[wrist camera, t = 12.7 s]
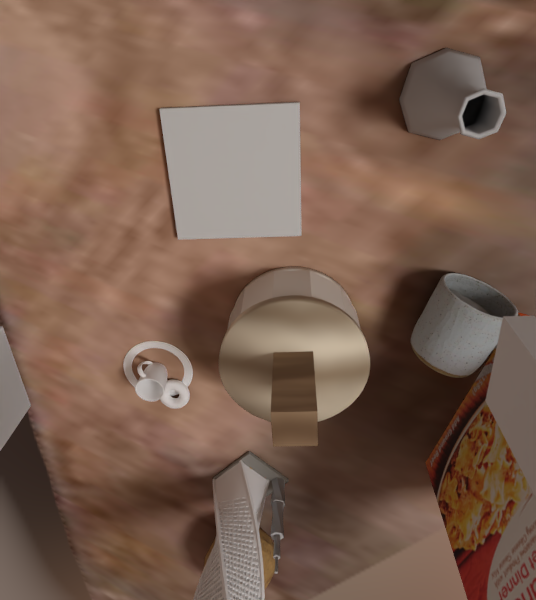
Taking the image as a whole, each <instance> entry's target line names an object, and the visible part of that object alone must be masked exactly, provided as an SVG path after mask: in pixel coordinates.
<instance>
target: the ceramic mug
mask: <svg viewBox="0 0 536 600" xmlns="http://www.w3.org/2000/svg"><path fill="white" fill-rule="evenodd" d="M503 316H518V311H517V309H516V307H515V305H514V304H513V303H512V302H511V301H510V300H509V299H508V298H507V297H506V296H505V295H503V294H502V293H501V292H499V291H498V290H496V289H495V288H493V287H491V286H490V285H488V284H486V283H484V282H482V281H480V280H477V279H475V278H473V277H470V276H467V275H463V274H458V273H447V274H445V275H443V276H442V278H441V279H440V281H439V283H438V285H437V287H436V288H435V290H434V292H433V294H432V296H431V297H430V299H429V301H428V303H427V305H426V307H425V309H424V311H423V313H422V315H421V316H420V318H419V319H418V321H417V323H416V325H415V327H414V329H413V333H412V336H411V346H412V349H413V351H414V352H415V354H416V355H417V357H418V358H419V359H420V360H421V361H422V362H423V363H424V364H425V365H427V366H428V367H430V368H431V369H433V370H435V371H436V372H439V373H441V374H443V375H446V376H450V377H456V378H463V377H467V376H469V375H470V374H472V373H473V372H475V371H476V370H477V369H478V368H479V367H480V366H481V365H482V364H483V362H484V361H485V360H486V359H487V357H488V356H489V354H490V353H491V351H492V350H494V349H496V348H497V343H498V339H499V334H500V329H501V325H502V320H503Z"/></svg>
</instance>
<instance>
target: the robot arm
mask: <svg viewBox="0 0 536 600" xmlns="http://www.w3.org/2000/svg"><path fill="white" fill-rule="evenodd" d="M485 401H486V403H487V405H488V407H489V409H490V410H491V412H492V414H493V416H494V418H495V420H496V422H497V424H498V426H499V428H500V430H501V432H502V434H503V435H504V437H505V439H506V441H507V443H508V445H509V447H510V449H511V451H512V453H513V455H514V457H515V459H516V461H517V462H518V464H519V466H520V468H521V470H522V472H523V474H524V476H525V478H526V480H527V482H528V484H529V486H530V488H531V489H532V491H533V493H534V495H535V497H536V317H535V316H503V320H502V325H501V329H500V334H499V339H498V343H497V348H496V353H495V358H494V362H493V367H492V372H491V376H490V381H489V386H488V391H487V395H486V400H485ZM30 406H31V405H30V402H29V399H28V396H27V393H26V391H25V388H24V385H23V382H22V379H21V377H20V374H19V371H18V368H17V365H16V363H15V360H14V357H13V354H12V351H11V349H10V346H9V343H8V340H7V337H6V335H5V332H4V329H3V326H0V451H1V449H2V448H3V446H4V445H5V443H6V442H7V440H8V439H9V437H10V436H11V434H12V433H13V431H14V430H15V428H16V427H17V425H18V424H19V422H20V421H21V419H22V418H23V417H24V415H25V413H26V412H27V411H28V409H29V408H30Z"/></svg>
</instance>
